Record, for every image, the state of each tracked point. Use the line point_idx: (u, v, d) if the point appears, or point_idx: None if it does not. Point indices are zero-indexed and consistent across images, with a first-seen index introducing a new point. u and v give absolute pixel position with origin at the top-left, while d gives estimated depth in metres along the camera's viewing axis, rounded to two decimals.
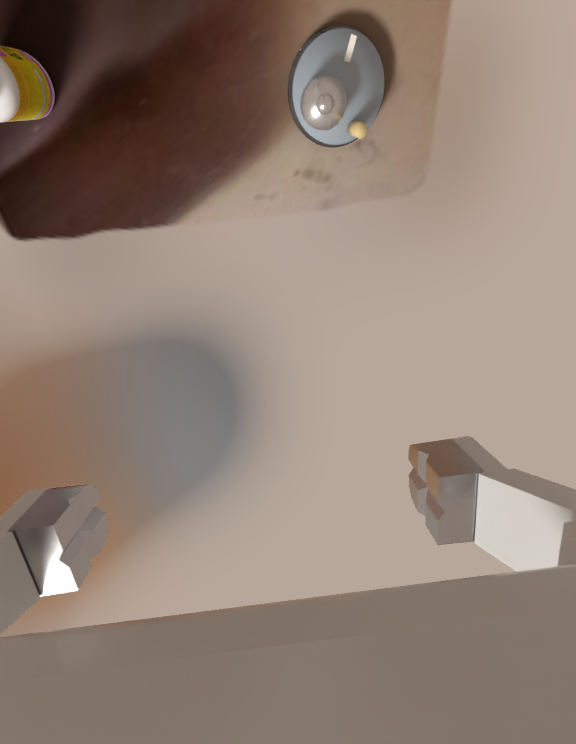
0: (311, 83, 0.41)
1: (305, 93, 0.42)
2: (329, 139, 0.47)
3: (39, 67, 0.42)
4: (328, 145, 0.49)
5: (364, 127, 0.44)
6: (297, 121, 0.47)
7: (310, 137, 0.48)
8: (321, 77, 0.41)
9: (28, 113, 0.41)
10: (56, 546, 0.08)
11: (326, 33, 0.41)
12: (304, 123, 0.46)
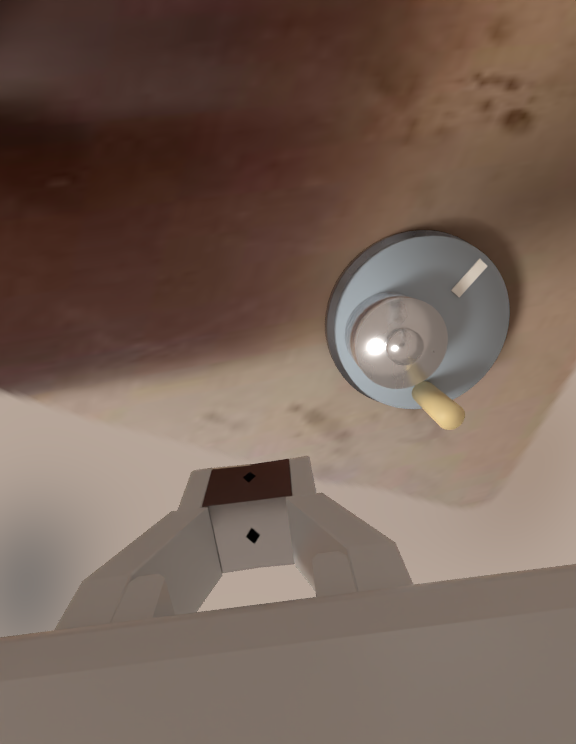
0: (392, 302, 0.20)
1: (374, 313, 0.20)
2: (376, 391, 0.25)
3: None
4: None
5: (459, 415, 0.21)
6: (331, 338, 0.25)
7: (342, 370, 0.26)
8: (415, 301, 0.20)
9: None
10: (245, 523, 0.08)
11: (439, 238, 0.22)
12: (343, 350, 0.24)
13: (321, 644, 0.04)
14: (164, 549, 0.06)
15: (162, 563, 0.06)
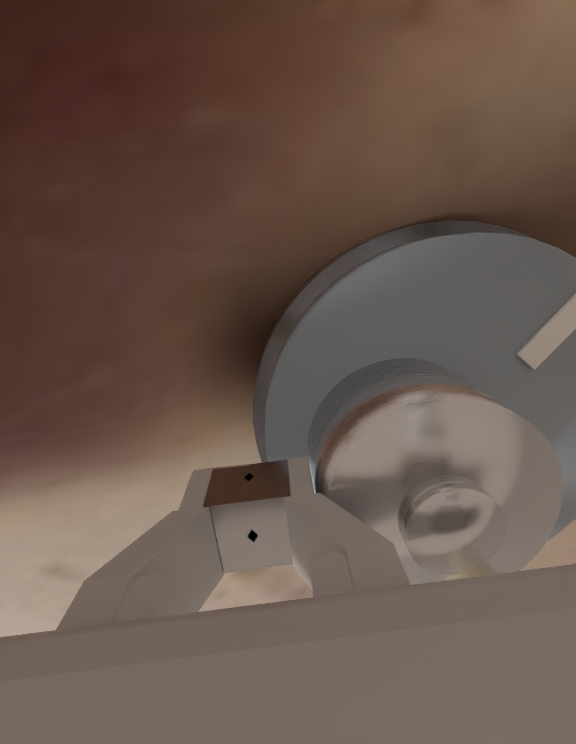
0: (420, 415, 0.07)
1: (369, 442, 0.07)
2: None
3: None
4: None
5: None
6: (263, 442, 0.12)
7: None
8: (482, 411, 0.07)
9: None
10: (247, 522, 0.08)
11: (496, 239, 0.09)
12: None
13: (321, 644, 0.04)
14: (165, 548, 0.06)
15: (164, 563, 0.06)
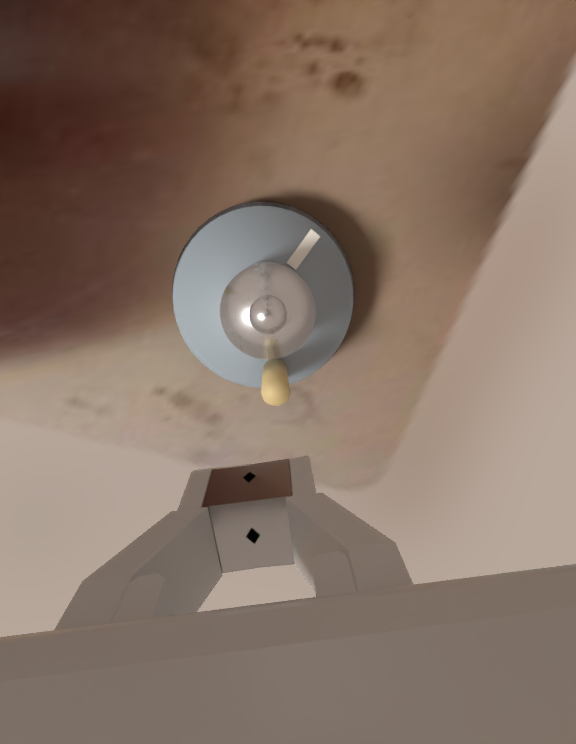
0: (252, 268, 0.19)
1: (234, 280, 0.19)
2: (225, 370, 0.24)
3: None
4: None
5: (284, 390, 0.20)
6: None
7: None
8: (275, 267, 0.19)
9: None
10: (246, 523, 0.08)
11: (265, 208, 0.21)
12: (184, 328, 0.23)
13: (321, 644, 0.04)
14: (164, 548, 0.06)
15: (162, 563, 0.06)
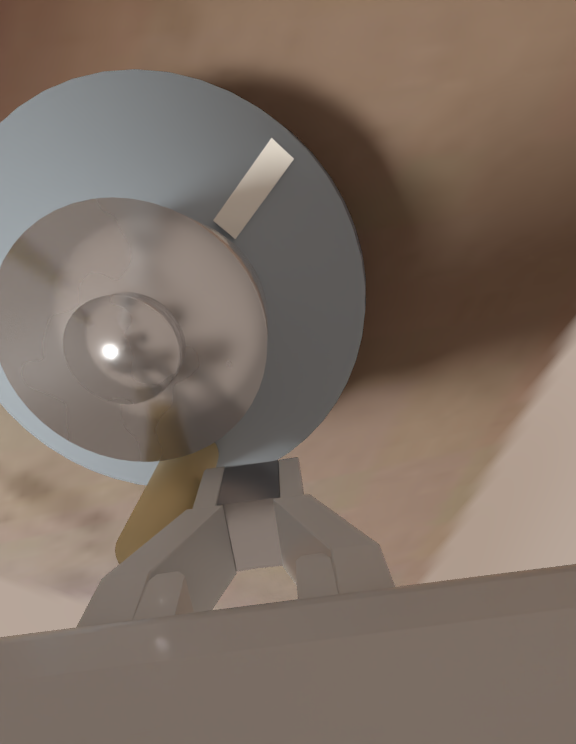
0: (75, 211, 0.06)
1: (25, 244, 0.06)
2: (86, 451, 0.11)
3: None
4: None
5: None
6: None
7: None
8: (146, 210, 0.06)
9: None
10: (260, 521, 0.08)
11: (159, 78, 0.08)
12: None
13: (321, 644, 0.04)
14: (181, 547, 0.06)
15: (180, 561, 0.06)
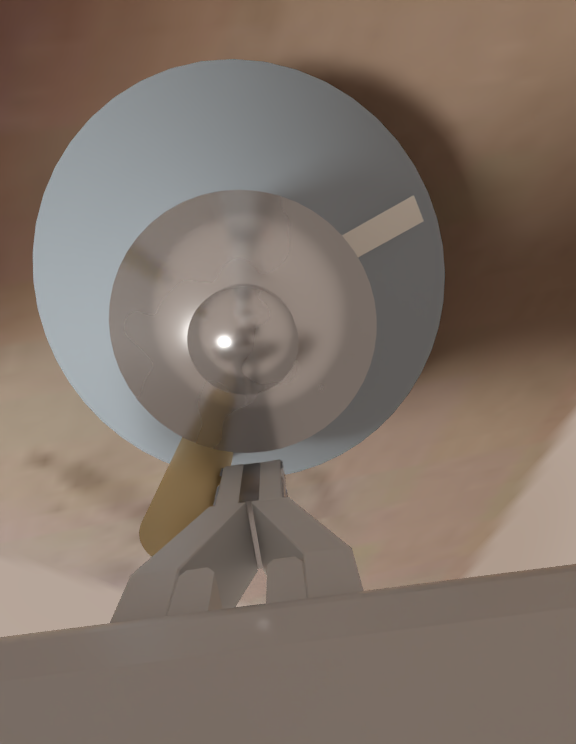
0: (256, 199, 0.06)
1: (193, 206, 0.06)
2: (106, 402, 0.11)
3: None
4: None
5: None
6: None
7: None
8: (320, 226, 0.07)
9: None
10: None
11: (342, 99, 0.09)
12: (45, 277, 0.10)
13: (321, 644, 0.04)
14: (207, 543, 0.06)
15: (206, 557, 0.06)
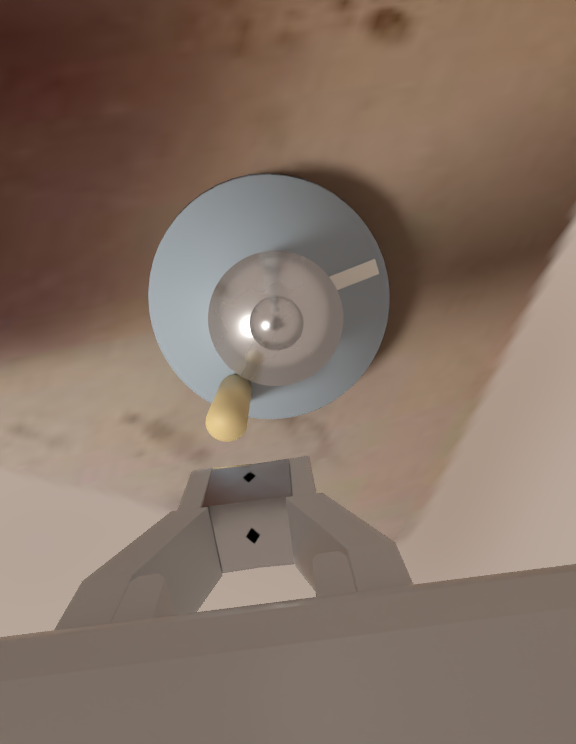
0: (291, 256, 0.13)
1: (261, 255, 0.13)
2: (176, 356, 0.17)
3: None
4: None
5: (238, 426, 0.14)
6: None
7: None
8: (320, 273, 0.14)
9: None
10: (246, 522, 0.08)
11: (340, 203, 0.16)
12: (157, 276, 0.16)
13: (321, 644, 0.04)
14: (163, 549, 0.06)
15: (162, 563, 0.06)
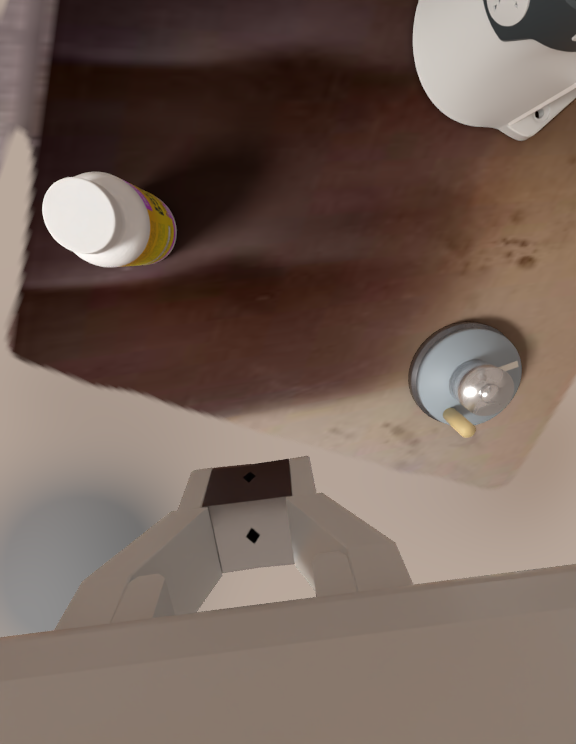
0: (498, 369, 0.36)
1: (487, 369, 0.36)
2: (427, 400, 0.40)
3: (173, 224, 0.35)
4: (433, 417, 0.43)
5: (472, 431, 0.37)
6: (413, 384, 0.41)
7: (419, 403, 0.42)
8: (508, 375, 0.37)
9: (135, 264, 0.31)
10: (245, 523, 0.08)
11: (506, 339, 0.39)
12: (426, 368, 0.39)
13: (321, 644, 0.04)
14: (164, 548, 0.06)
15: (162, 563, 0.06)
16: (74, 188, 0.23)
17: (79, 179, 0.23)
